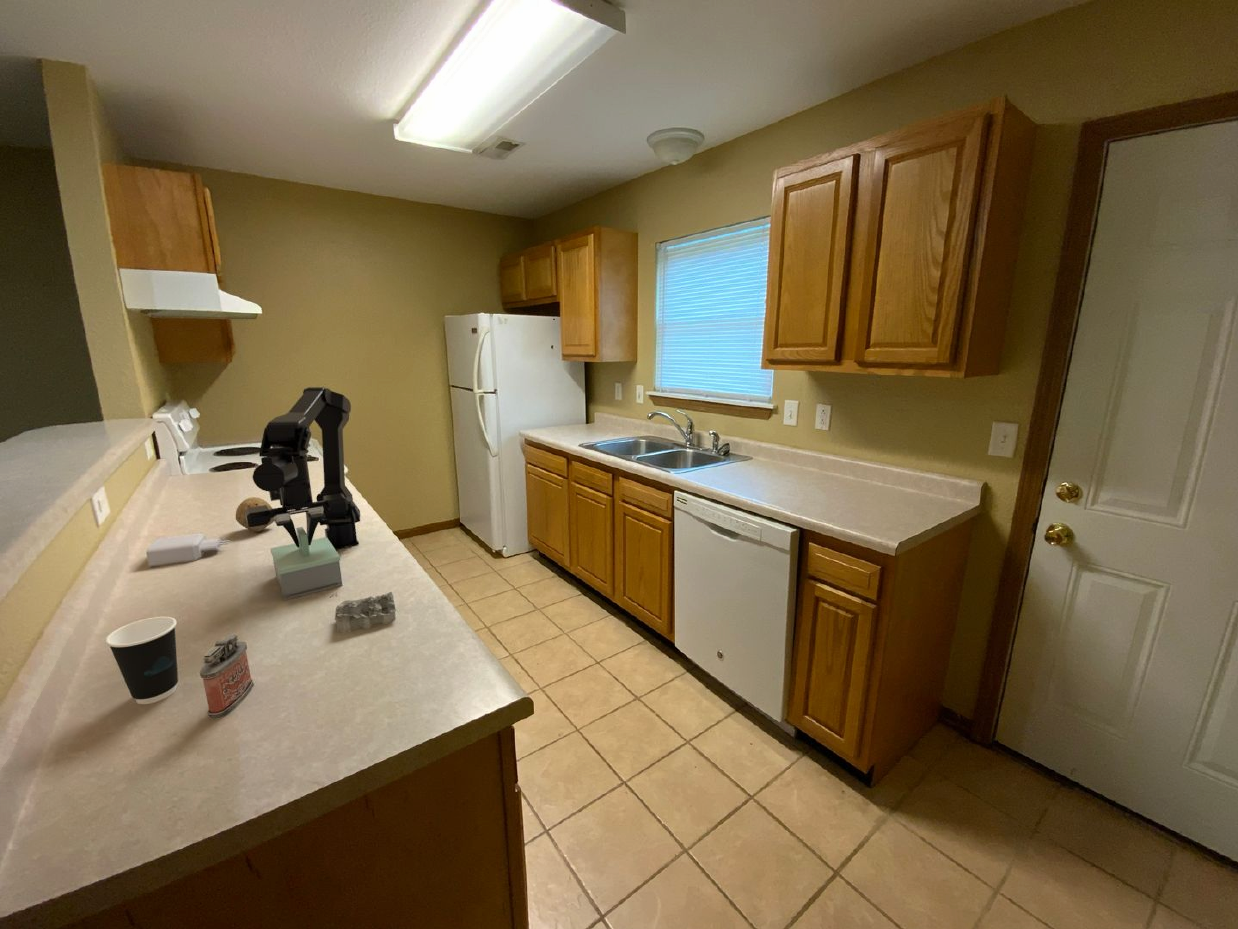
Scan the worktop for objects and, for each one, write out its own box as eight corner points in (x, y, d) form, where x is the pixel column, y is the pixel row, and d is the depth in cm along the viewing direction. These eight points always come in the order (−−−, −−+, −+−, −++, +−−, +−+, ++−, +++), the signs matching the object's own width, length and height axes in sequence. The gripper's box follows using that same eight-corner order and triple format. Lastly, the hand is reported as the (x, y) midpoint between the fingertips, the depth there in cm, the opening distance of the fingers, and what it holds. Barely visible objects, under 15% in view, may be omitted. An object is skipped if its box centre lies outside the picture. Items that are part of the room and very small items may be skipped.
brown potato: (230, 534, 144) (224, 499, 142) (262, 523, 152) (256, 491, 150) (251, 538, 141) (246, 504, 139) (283, 528, 149) (278, 495, 147)
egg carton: (334, 637, 96) (332, 617, 95) (337, 617, 103) (334, 598, 102) (397, 624, 100) (395, 605, 99) (395, 606, 107) (393, 588, 106)
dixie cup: (171, 707, 77) (156, 641, 75) (107, 715, 75) (90, 648, 73) (200, 674, 85) (187, 613, 82) (143, 681, 83) (128, 619, 80)
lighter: (237, 683, 82) (226, 627, 80) (259, 682, 83) (249, 626, 80) (202, 719, 75) (189, 658, 72) (226, 718, 75) (214, 657, 73)
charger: (226, 557, 130) (149, 568, 123) (233, 544, 138) (161, 554, 131) (223, 540, 128) (145, 550, 122) (230, 528, 136) (158, 537, 130)
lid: (327, 544, 125) (324, 517, 123) (341, 564, 114) (337, 534, 112) (271, 556, 118) (267, 527, 116) (280, 579, 107) (275, 547, 105)
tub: (329, 564, 126) (326, 541, 124) (342, 585, 115) (339, 560, 114) (275, 576, 119) (272, 552, 118) (284, 600, 109) (280, 574, 107)
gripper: (334, 465, 123) (341, 526, 127) (238, 477, 112) (249, 544, 116) (344, 474, 115) (352, 540, 119) (242, 488, 103) (254, 561, 107)
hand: (303, 545), depth 115 cm, fingers closed
